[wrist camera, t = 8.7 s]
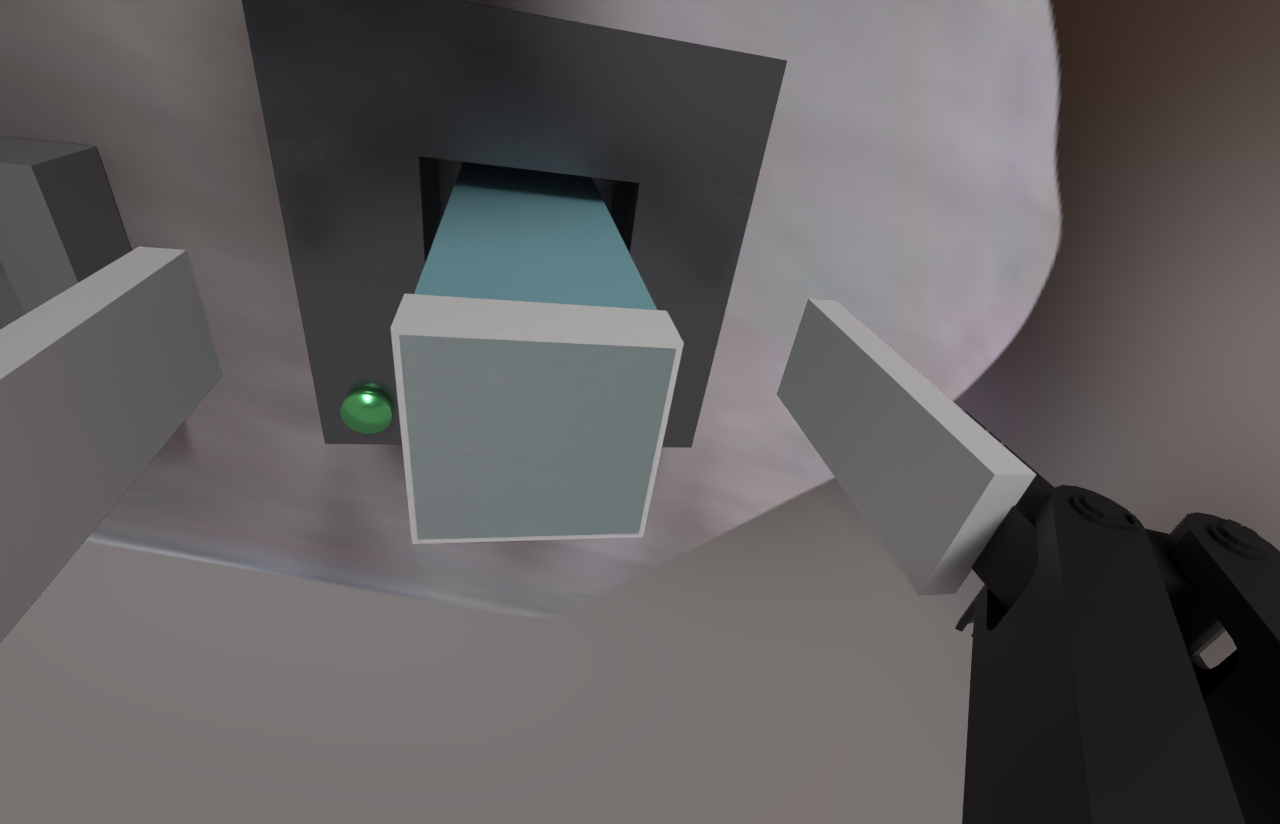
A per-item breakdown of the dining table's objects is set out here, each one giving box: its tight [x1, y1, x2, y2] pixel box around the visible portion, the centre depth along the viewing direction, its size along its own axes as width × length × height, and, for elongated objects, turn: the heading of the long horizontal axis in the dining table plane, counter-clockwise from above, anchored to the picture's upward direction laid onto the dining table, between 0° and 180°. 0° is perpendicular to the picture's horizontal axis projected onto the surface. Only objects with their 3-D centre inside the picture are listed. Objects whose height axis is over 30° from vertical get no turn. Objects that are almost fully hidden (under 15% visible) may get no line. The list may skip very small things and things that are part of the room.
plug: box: [391, 162, 684, 544], centre depth 14 cm, size 4×4×12 cm
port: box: [242, 0, 787, 447], centre depth 19 cm, size 12×12×7 cm
